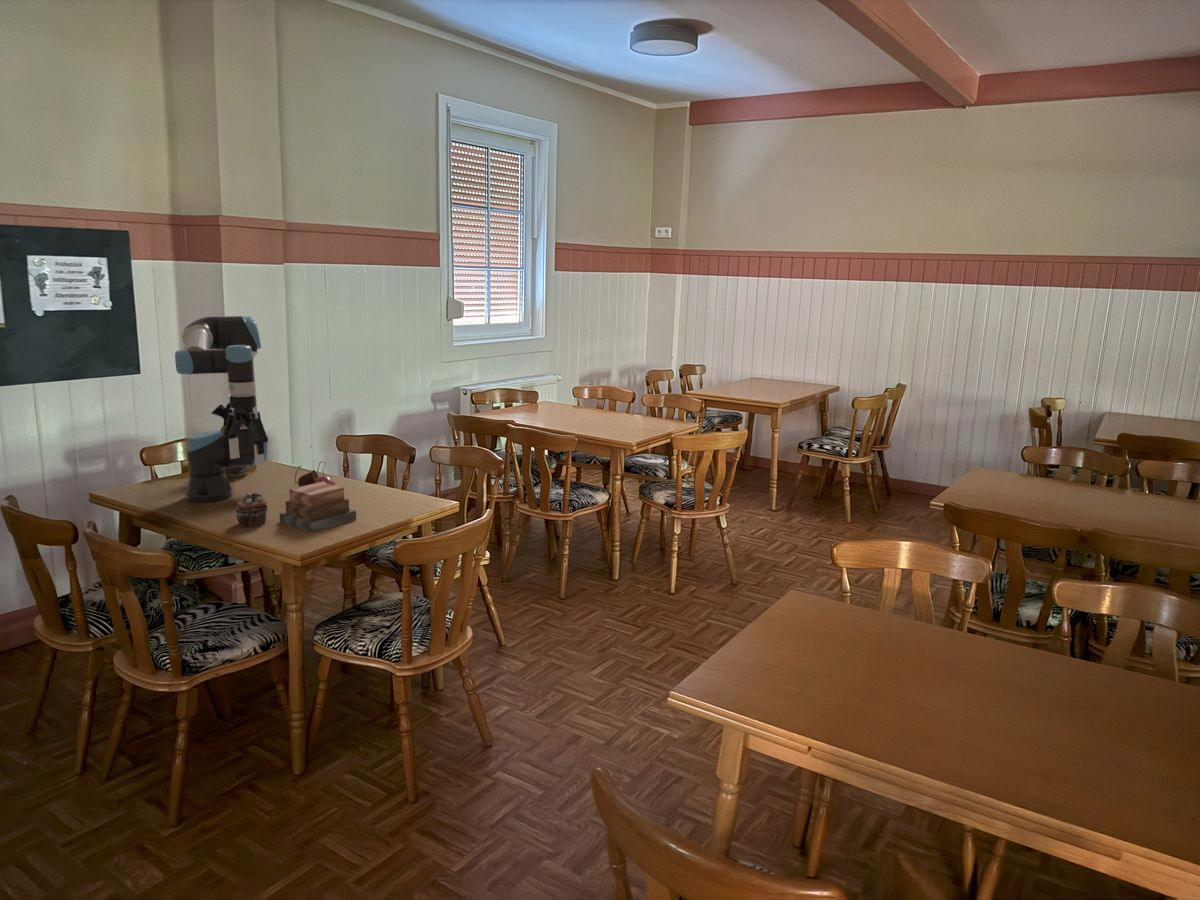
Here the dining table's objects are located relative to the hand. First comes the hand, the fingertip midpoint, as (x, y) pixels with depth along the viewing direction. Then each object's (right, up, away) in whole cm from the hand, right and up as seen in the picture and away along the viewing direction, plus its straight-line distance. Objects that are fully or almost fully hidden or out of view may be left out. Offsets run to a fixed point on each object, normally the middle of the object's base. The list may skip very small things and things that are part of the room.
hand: (247, 461), depth 262 cm
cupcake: (0, -21, +5) cm, 21 cm away
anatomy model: (+11, -14, +37) cm, 41 cm away
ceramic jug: (-33, -7, +66) cm, 74 cm away
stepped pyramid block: (+20, -20, +9) cm, 29 cm away
